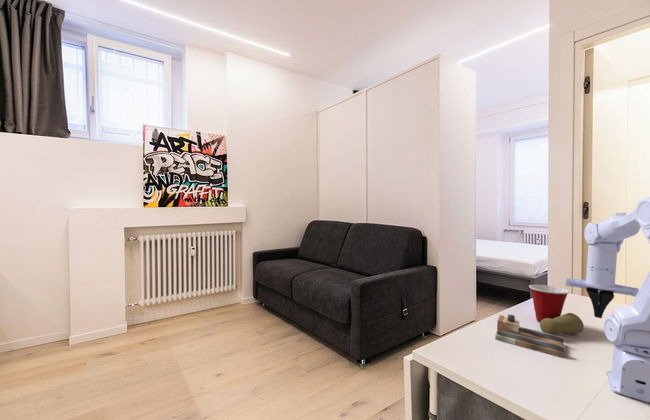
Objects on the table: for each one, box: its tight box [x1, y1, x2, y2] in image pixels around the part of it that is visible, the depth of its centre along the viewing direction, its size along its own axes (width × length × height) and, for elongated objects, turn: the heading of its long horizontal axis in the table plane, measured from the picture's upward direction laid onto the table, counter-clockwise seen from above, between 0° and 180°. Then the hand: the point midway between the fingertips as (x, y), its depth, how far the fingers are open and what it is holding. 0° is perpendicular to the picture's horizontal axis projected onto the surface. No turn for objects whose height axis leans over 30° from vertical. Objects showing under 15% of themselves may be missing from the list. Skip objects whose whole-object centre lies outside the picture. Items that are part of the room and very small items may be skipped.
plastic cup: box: [528, 284, 570, 324], centre depth 99 cm, size 11×11×12 cm
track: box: [494, 315, 565, 359], centre depth 86 cm, size 16×9×5 cm, turn 52°
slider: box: [502, 314, 520, 334], centre depth 89 cm, size 4×4×5 cm
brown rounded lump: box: [539, 312, 585, 336], centre depth 91 cm, size 6×6×11 cm
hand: (597, 316), depth 81 cm, fingers closed
